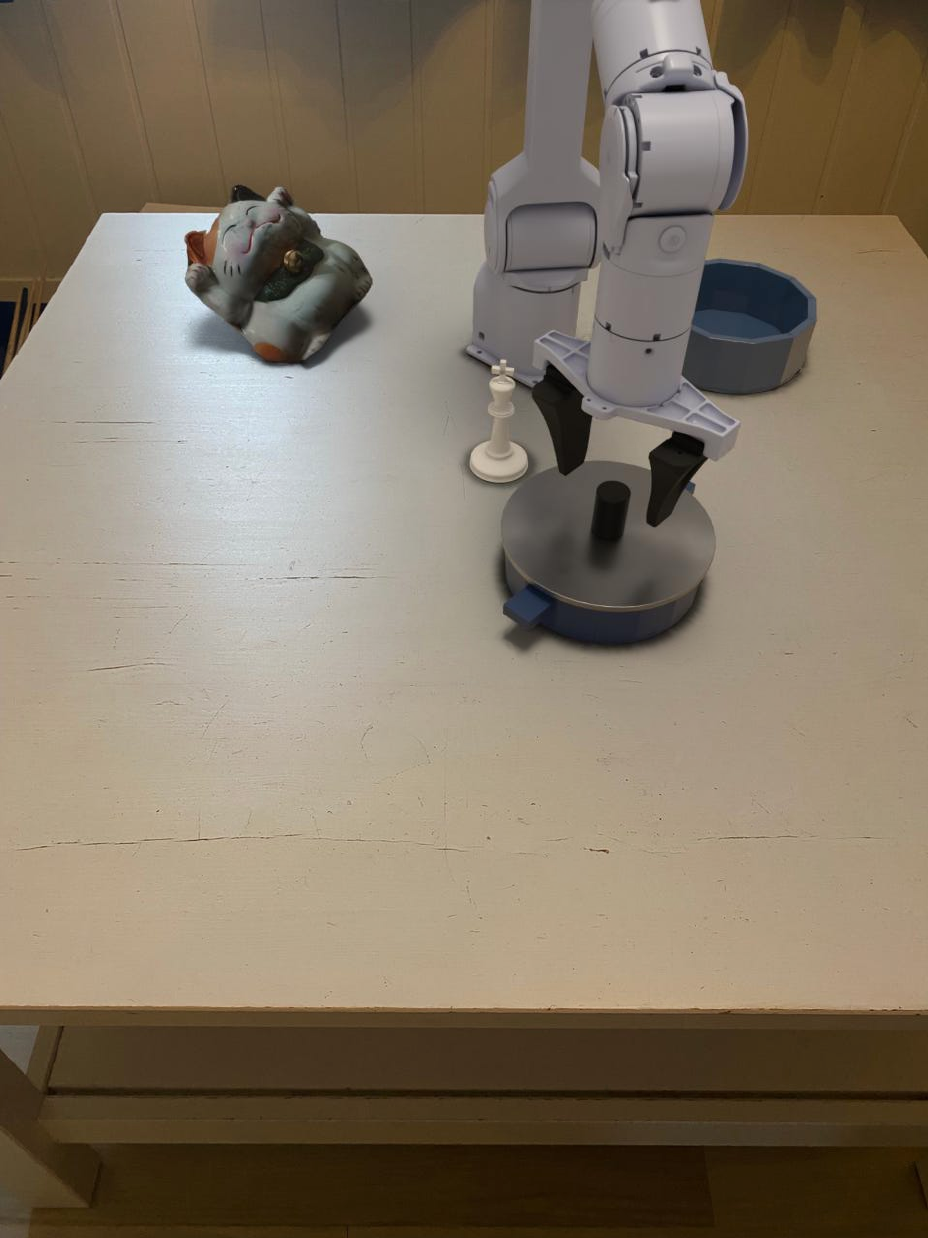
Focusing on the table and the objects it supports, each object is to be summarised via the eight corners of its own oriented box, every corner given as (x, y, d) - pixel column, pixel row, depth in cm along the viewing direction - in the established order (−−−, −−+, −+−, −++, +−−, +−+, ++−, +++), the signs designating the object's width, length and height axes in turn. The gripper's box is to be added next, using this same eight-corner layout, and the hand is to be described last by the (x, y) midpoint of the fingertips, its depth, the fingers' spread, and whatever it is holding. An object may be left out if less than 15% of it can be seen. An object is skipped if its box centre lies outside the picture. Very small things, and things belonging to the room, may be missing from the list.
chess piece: (522, 486, 78) (530, 383, 70) (464, 478, 78) (465, 375, 71) (532, 449, 81) (539, 347, 73) (475, 442, 81) (477, 339, 74)
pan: (440, 591, 70) (440, 553, 67) (605, 467, 79) (611, 430, 76) (594, 700, 63) (600, 663, 60) (753, 551, 73) (766, 513, 70)
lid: (456, 541, 69) (456, 492, 65) (588, 445, 76) (595, 397, 73) (626, 654, 62) (636, 607, 58) (753, 537, 69) (769, 489, 66)
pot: (617, 350, 91) (624, 299, 87) (702, 293, 98) (713, 244, 94) (747, 413, 84) (761, 361, 80) (828, 348, 92) (846, 297, 88)
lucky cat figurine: (286, 383, 87) (189, 249, 78) (235, 373, 96) (143, 252, 88) (397, 283, 90) (316, 145, 82) (338, 282, 100) (259, 158, 91)
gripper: (505, 295, 57) (497, 472, 67) (709, 394, 50) (666, 574, 60) (579, 254, 60) (561, 428, 70) (779, 342, 53) (727, 520, 64)
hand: (613, 492), depth 65 cm, fingers open, 7 cm apart
